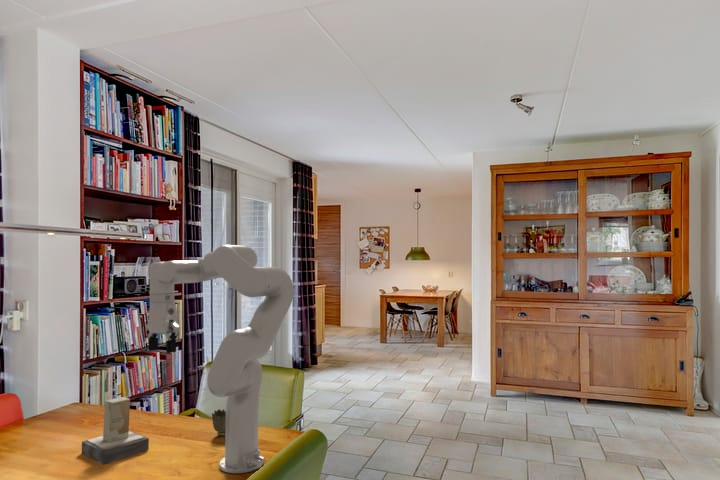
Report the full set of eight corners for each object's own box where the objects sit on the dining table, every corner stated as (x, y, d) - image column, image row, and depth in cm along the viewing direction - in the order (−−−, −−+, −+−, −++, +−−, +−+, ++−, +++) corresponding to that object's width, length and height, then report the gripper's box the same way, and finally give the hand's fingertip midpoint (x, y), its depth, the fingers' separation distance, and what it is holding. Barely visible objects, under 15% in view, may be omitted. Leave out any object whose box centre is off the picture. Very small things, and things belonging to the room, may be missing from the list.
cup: (227, 440, 159) (227, 416, 160) (207, 438, 161) (207, 414, 161) (237, 432, 167) (237, 409, 167) (218, 430, 168) (218, 408, 169)
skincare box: (109, 443, 146) (110, 403, 147) (102, 440, 148) (103, 400, 149) (129, 437, 151) (130, 398, 152) (122, 434, 154) (123, 396, 154)
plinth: (148, 449, 151) (148, 436, 151) (103, 464, 140) (104, 450, 140) (125, 439, 159) (125, 427, 160) (81, 453, 148) (82, 440, 148)
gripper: (188, 298, 155) (188, 351, 154) (157, 298, 164) (157, 347, 163) (167, 300, 149) (167, 355, 147) (136, 299, 158) (136, 351, 157)
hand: (162, 351), depth 155 cm, fingers open, 9 cm apart
